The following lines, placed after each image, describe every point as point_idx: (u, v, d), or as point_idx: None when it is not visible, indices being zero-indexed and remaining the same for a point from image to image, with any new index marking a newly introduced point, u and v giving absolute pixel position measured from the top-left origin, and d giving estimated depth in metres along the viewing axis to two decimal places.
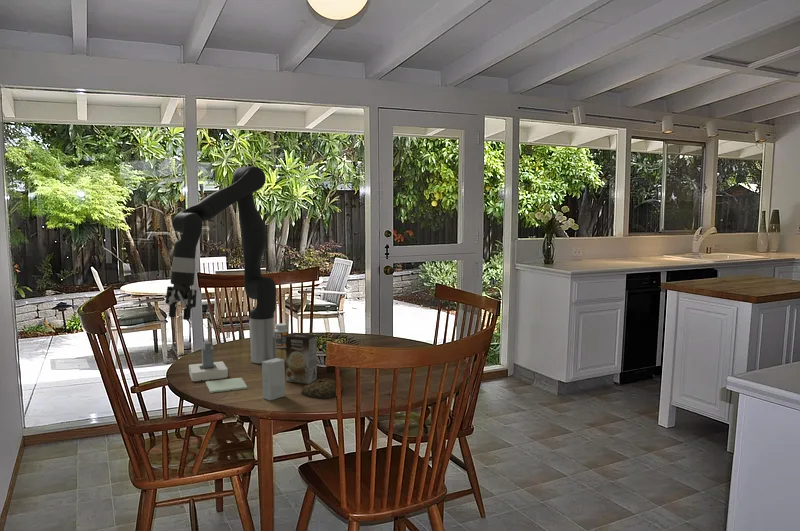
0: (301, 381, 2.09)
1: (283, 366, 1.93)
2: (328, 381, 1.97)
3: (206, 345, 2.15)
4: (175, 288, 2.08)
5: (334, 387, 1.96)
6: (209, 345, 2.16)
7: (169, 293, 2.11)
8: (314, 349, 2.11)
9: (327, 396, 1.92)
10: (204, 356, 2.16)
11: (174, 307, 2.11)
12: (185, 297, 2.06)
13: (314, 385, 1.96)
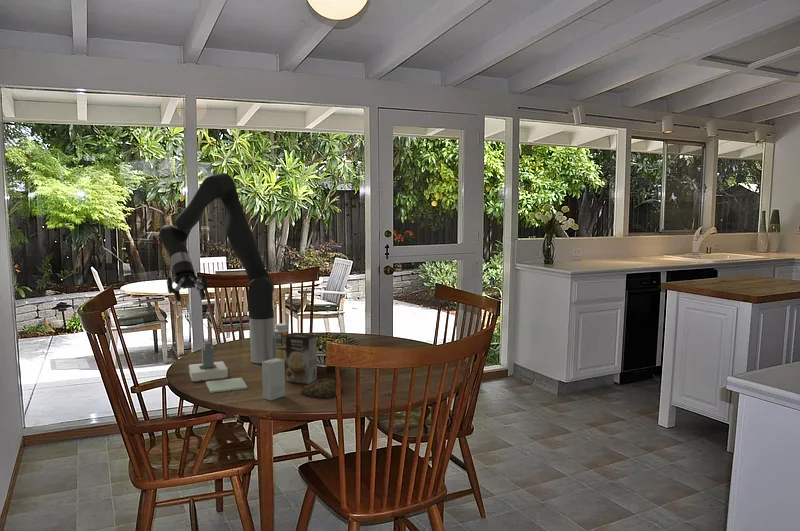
0: (301, 381, 2.09)
1: (283, 366, 1.93)
2: (328, 381, 1.97)
3: (206, 345, 2.15)
4: None
5: (334, 387, 1.96)
6: (209, 345, 2.16)
7: (201, 283, 2.36)
8: (314, 349, 2.11)
9: (327, 396, 1.92)
10: (204, 356, 2.16)
11: (200, 291, 2.31)
12: None
13: (314, 385, 1.96)
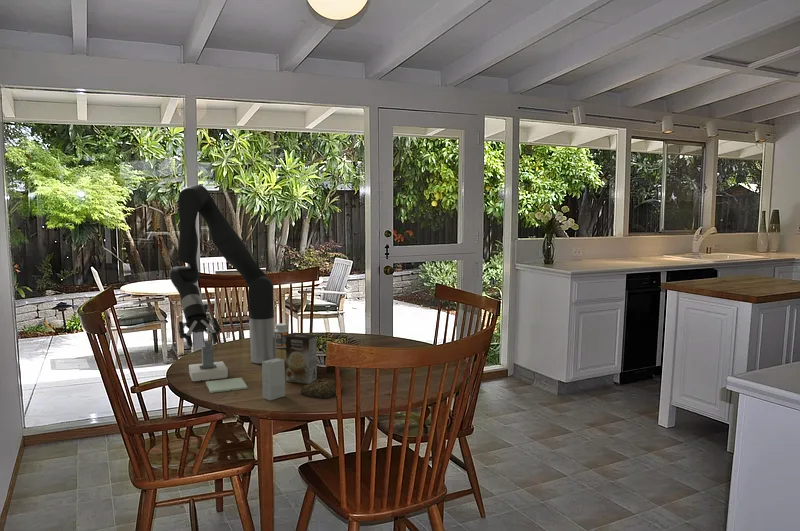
0: (301, 381, 2.09)
1: (283, 366, 1.93)
2: (327, 381, 1.98)
3: (206, 345, 2.15)
4: None
5: (333, 387, 1.96)
6: (209, 345, 2.16)
7: (213, 326, 2.29)
8: (314, 349, 2.11)
9: (326, 396, 1.92)
10: (204, 356, 2.16)
11: (212, 335, 2.25)
12: None
13: (313, 385, 1.96)
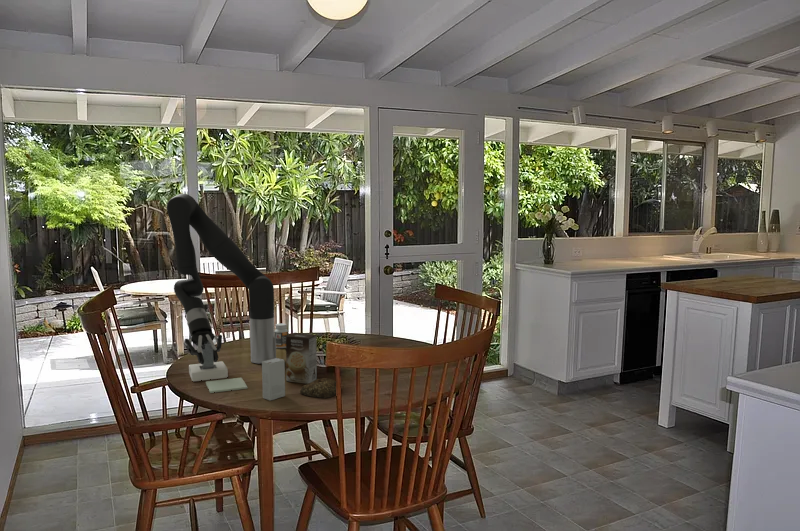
0: (301, 381, 2.09)
1: (283, 366, 1.93)
2: (327, 381, 1.98)
3: (206, 345, 2.15)
4: None
5: (333, 387, 1.96)
6: (209, 345, 2.16)
7: (217, 342, 2.24)
8: (314, 349, 2.11)
9: (326, 396, 1.93)
10: (204, 356, 2.16)
11: (213, 352, 2.19)
12: (198, 344, 2.20)
13: (313, 385, 1.96)
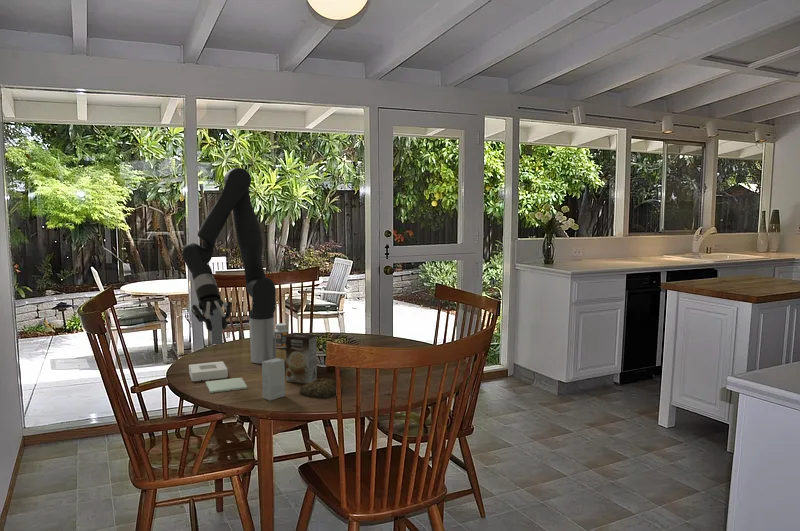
0: (301, 381, 2.09)
1: (283, 366, 1.93)
2: (326, 381, 1.98)
3: (214, 311, 2.06)
4: None
5: (332, 387, 1.96)
6: (217, 311, 2.06)
7: (226, 310, 2.15)
8: (314, 349, 2.11)
9: (325, 395, 1.93)
10: (212, 323, 2.07)
11: None
12: None
13: (312, 384, 1.96)
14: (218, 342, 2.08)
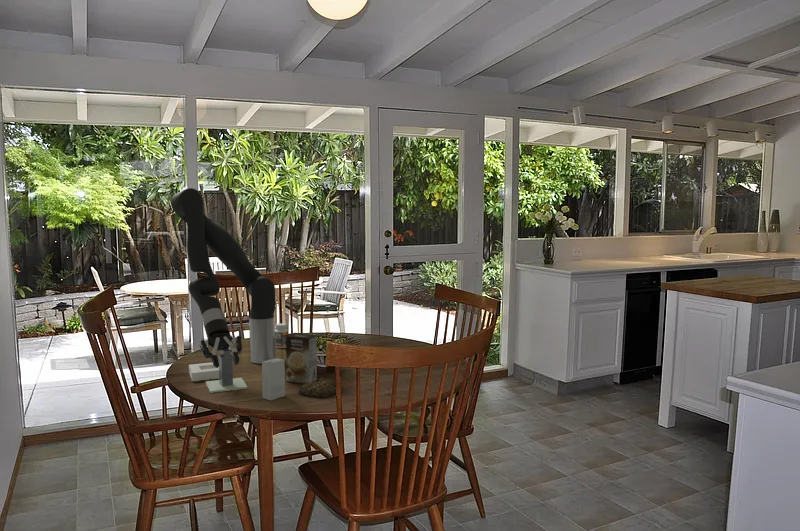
0: (301, 381, 2.09)
1: (283, 366, 1.93)
2: (325, 380, 1.98)
3: (225, 352, 2.02)
4: None
5: (331, 386, 1.96)
6: (228, 352, 2.03)
7: (236, 344, 2.11)
8: (314, 349, 2.11)
9: (324, 395, 1.93)
10: (223, 364, 2.03)
11: (233, 355, 2.07)
12: (214, 347, 2.06)
13: (311, 384, 1.96)
14: (228, 383, 2.05)
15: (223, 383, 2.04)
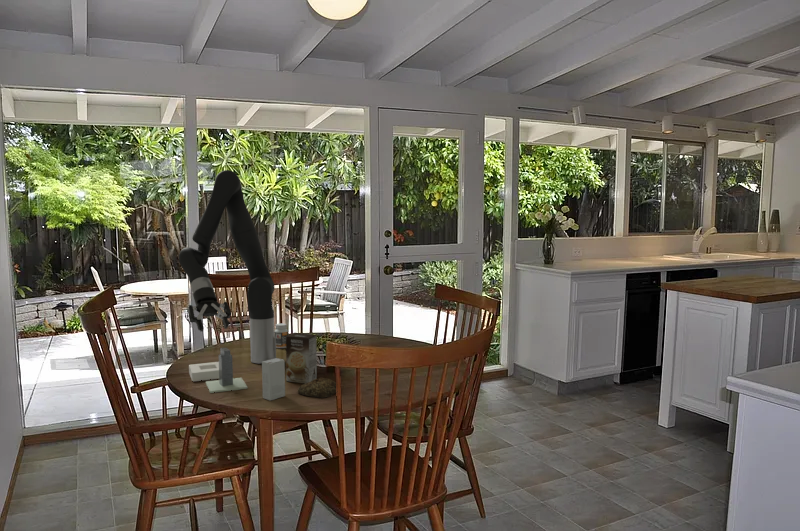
0: (301, 381, 2.09)
1: (283, 366, 1.93)
2: (325, 380, 1.98)
3: (225, 352, 2.02)
4: None
5: (330, 386, 1.96)
6: (228, 352, 2.03)
7: (224, 310, 2.21)
8: (314, 349, 2.11)
9: (323, 395, 1.93)
10: (223, 364, 2.03)
11: (223, 319, 2.17)
12: None
13: (311, 384, 1.96)
14: (228, 383, 2.05)
15: (223, 383, 2.04)
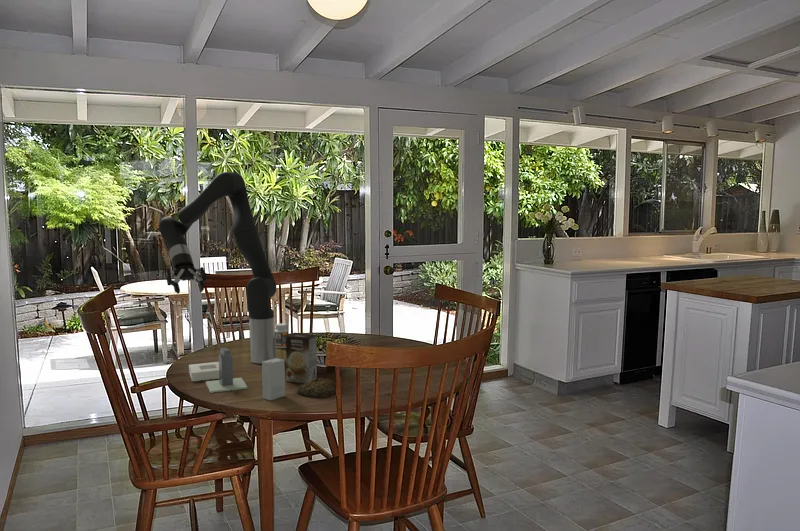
0: (301, 381, 2.09)
1: (283, 366, 1.93)
2: (324, 380, 1.98)
3: (225, 352, 2.02)
4: None
5: (330, 386, 1.96)
6: (228, 352, 2.03)
7: (200, 275, 2.36)
8: (314, 349, 2.11)
9: (323, 395, 1.93)
10: (223, 364, 2.03)
11: (199, 283, 2.31)
12: None
13: (310, 384, 1.96)
14: (228, 383, 2.05)
15: (223, 383, 2.04)
